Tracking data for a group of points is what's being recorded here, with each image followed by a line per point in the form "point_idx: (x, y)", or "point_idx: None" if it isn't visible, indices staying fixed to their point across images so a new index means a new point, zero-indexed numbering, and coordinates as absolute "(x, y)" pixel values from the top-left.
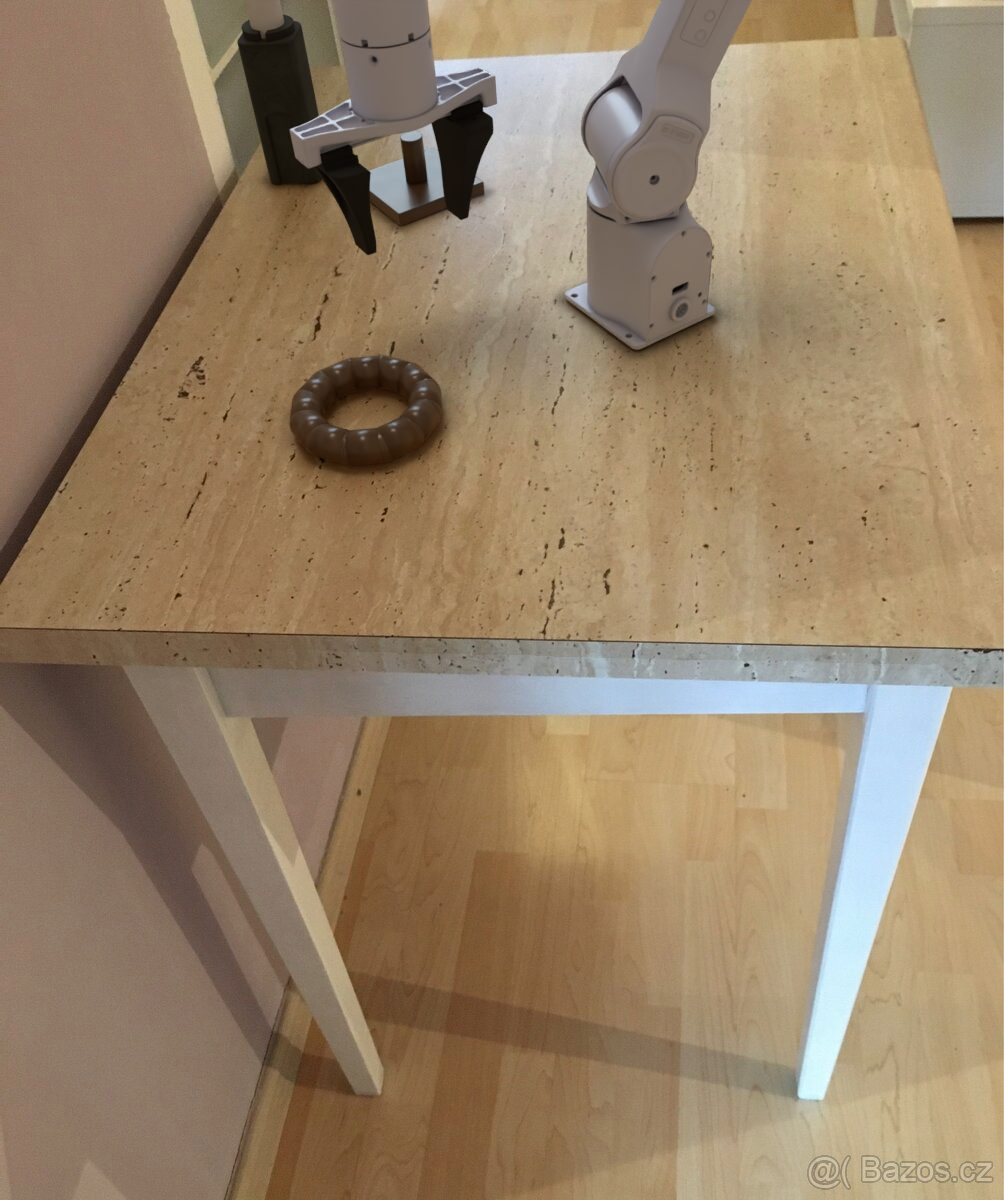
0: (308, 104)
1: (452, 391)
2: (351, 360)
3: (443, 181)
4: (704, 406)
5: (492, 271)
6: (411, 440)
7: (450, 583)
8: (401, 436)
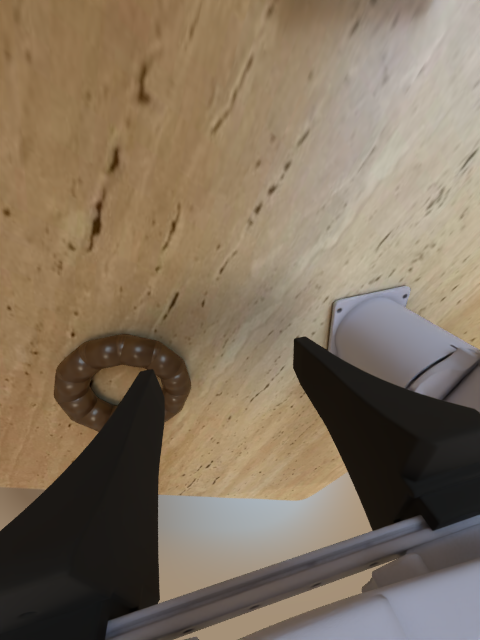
0: None
1: (202, 367)
2: (121, 358)
3: (315, 359)
4: None
5: (315, 223)
6: None
7: None
8: None
